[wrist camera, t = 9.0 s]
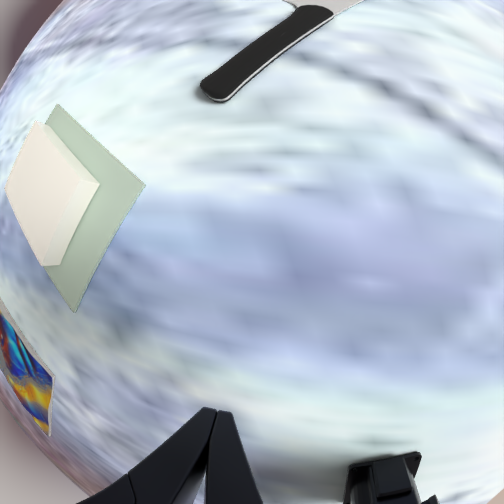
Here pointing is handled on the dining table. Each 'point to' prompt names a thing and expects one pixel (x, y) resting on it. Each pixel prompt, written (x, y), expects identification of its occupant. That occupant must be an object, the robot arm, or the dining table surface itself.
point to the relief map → (26, 371)
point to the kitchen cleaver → (271, 46)
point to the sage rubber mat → (91, 208)
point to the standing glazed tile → (48, 193)
